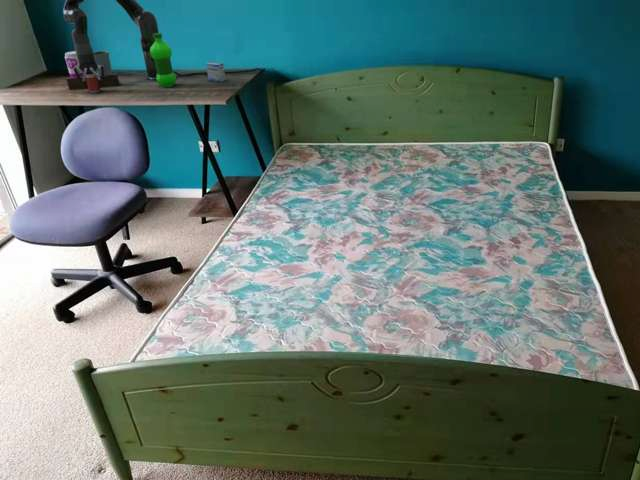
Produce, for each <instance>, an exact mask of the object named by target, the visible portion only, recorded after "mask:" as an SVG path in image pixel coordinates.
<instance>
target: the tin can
mask: <svg viewBox="0 0 640 480" xmlns="http://www.w3.org/2000/svg"><path fill="white" fill-rule="evenodd" d="M85 76H86V77H85V80H86V83H87V87H88V89H87V90H88V94H100V93H102V89H101V88H100V86H99V82H98V78H97V77H96V76H95V74H86V75H85Z"/></svg>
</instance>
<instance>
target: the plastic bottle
mask: <svg viewBox="0 0 640 480" xmlns="http://www.w3.org/2000/svg"><path fill="white" fill-rule="evenodd" d="M153 38H154V39H155V42H154V43H153V45H152V46H151V47H150V55H151V57H152V58H153V59H154V61H155V66H156V70H157V77H156V80H155V81H156V82H157V84H158V85H160V86H161V87H163V88H171V87H173V86H174V84H176V81H177V76H176V75H177V74H176V73H174V72H173V71H174V70H173V65H172V60H171V58H172V48H171V46H170V45H169V44H167V42H165V41H163V40H162V38H163V35H162V33H161V32H159V33H154V34H153Z"/></svg>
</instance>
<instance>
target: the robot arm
mask: <svg viewBox="0 0 640 480" xmlns="http://www.w3.org/2000/svg"><path fill="white" fill-rule="evenodd" d="M84 2H85V0H65V2H64V5H63V9H62V15H63V19H64V20H65V21H66V22H67V23H69V24H71V25H72V24H74V29H72V31H71V36H72V41H73V43H74V51H76V54H77V58H78V61H79V67H74V72H75V74H76V76H77V78H78V80H81V81H83V84H84V87H85V89H86V90H88V87H87V83H86V80H85V77H86V76H85V75H86V74H95V76H96V77H97V78H98V82H99V86H100V89H101V88H103V87H102V85H103V84H102V81H101V79H103V78H104V66H103V65H97V64H96V61H95V58H94V54H93V52H94V50H93V47H92V44H91V40H90V37H89V33H88V29H89V28H88V16H87V13H86V12H85V11H84V9H82V8H80V7H79V6H80V5H82V4H83V3H84ZM115 2H116V3H117V4H118V5H119V6H120V7H121V8H123V10H124V11H125V12H126V13H127V15H128V16H129V18H130V19H131V21H132V22H133V24H134V25H135V26H136V27H137V28H139V30H140V31H139V32H140V46H141V47H140V48H141V51H142V56H143V61H144V65H145V69H146V74H147V78H148V80H150V81H157V80H156V77H157V70H156V66H155V61H154V59H153V58H152V57H151V55H150V47H151V46H152V45H153V43H154V42H155V39H154V38H153V34H154V33H160V32H159V25H158V21H157V18H156V16H155V14H154V13H152V12H151V11H149V10H146V9H144V8H143V6H141V5H140V3H138V2H137V0H115ZM97 68H99V69H100V70H101V76H100V75H99V74H98V72H97V71H96V70H97ZM79 69H80V70H81V71H83V72H84V73H83V78H82V77H81V76H80V74H79ZM257 70H259V71H261V72H263V71H264V70H263V69H262V68H260V67H255V68H253V69H244V70H233V71H224V72H225V74H237V73H247V72H254V71H257ZM173 72H174V74H175V75H177V76H179V77H189V76H192V75H208V73H207V71H206V72H205V71H204V72H203V71H201V72H190V73H187V74H180V73H178V72H177V71H174V70H173Z"/></svg>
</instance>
